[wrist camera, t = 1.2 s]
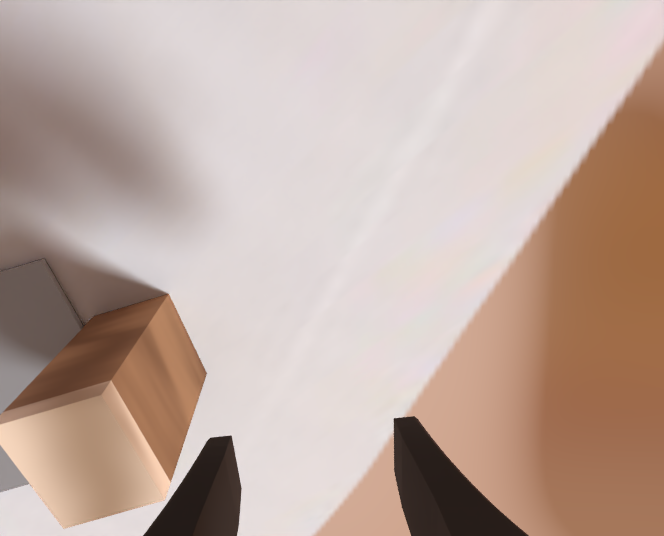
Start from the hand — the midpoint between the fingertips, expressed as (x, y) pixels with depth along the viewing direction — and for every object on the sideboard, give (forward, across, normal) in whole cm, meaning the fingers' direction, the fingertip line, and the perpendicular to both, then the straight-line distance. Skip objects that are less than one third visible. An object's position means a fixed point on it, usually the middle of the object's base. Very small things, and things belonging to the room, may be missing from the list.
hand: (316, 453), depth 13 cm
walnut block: (+10, +8, +2) cm, 14 cm away
